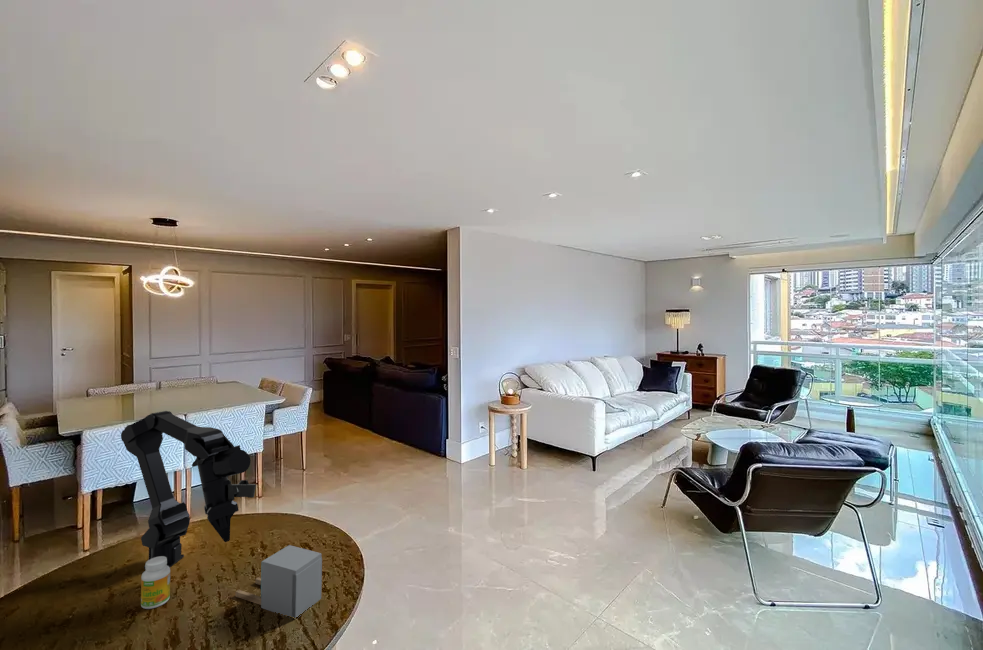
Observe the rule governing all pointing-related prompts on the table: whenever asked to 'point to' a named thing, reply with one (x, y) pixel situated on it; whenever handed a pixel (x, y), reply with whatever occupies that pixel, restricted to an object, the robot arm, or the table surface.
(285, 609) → the socket
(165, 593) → the supplement bottle
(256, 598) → the track
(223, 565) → the table surface
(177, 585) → the table surface
